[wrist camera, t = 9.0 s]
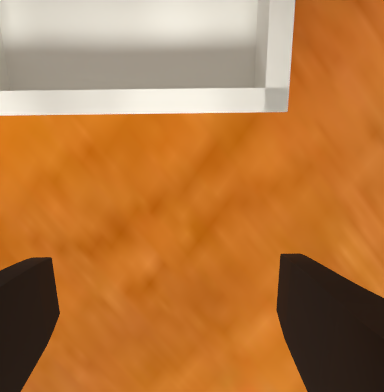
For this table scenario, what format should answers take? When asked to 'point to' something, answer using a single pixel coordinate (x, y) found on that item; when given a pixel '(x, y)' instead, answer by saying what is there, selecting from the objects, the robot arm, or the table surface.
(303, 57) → the table surface
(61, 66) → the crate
